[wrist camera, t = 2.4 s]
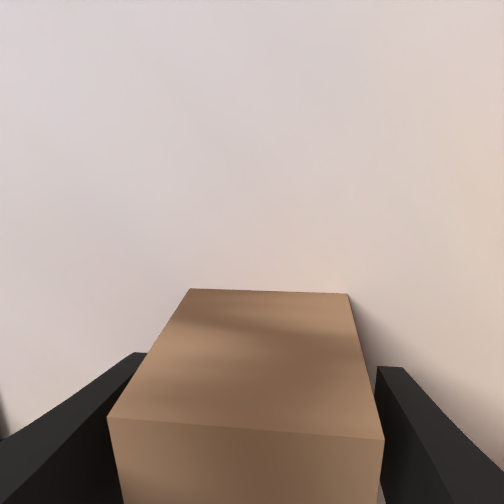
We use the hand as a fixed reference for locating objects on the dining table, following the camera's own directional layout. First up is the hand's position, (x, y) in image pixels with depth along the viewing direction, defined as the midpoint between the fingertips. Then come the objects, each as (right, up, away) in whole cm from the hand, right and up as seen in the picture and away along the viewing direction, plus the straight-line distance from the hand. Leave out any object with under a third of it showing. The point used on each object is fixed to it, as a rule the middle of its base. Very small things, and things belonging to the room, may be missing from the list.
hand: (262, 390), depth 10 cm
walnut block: (0, +1, +1) cm, 2 cm away
